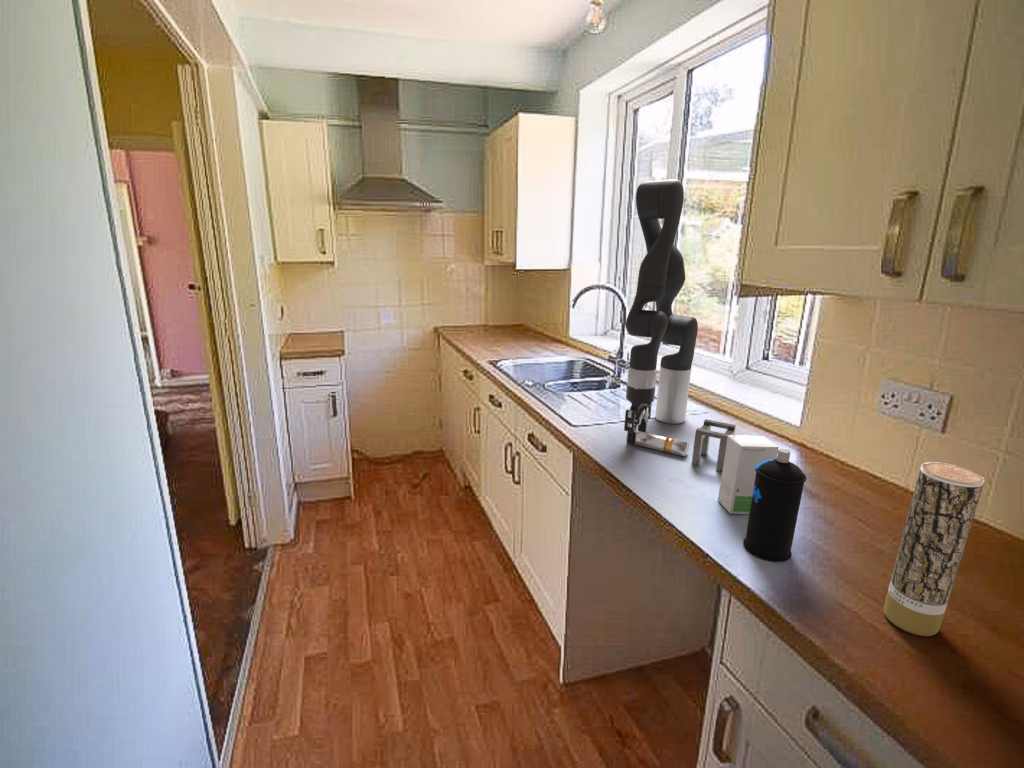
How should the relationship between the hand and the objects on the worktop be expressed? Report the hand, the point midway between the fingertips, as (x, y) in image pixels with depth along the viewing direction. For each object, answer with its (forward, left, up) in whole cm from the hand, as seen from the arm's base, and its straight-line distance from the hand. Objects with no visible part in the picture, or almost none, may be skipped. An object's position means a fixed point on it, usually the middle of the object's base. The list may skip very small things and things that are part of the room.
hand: (636, 439), depth 142 cm
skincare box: (+20, +32, -1) cm, 37 cm away
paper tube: (+42, +60, -1) cm, 73 cm away
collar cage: (0, +21, -1) cm, 21 cm away
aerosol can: (+34, +39, -1) cm, 51 cm away
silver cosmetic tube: (0, +6, -1) cm, 6 cm away
